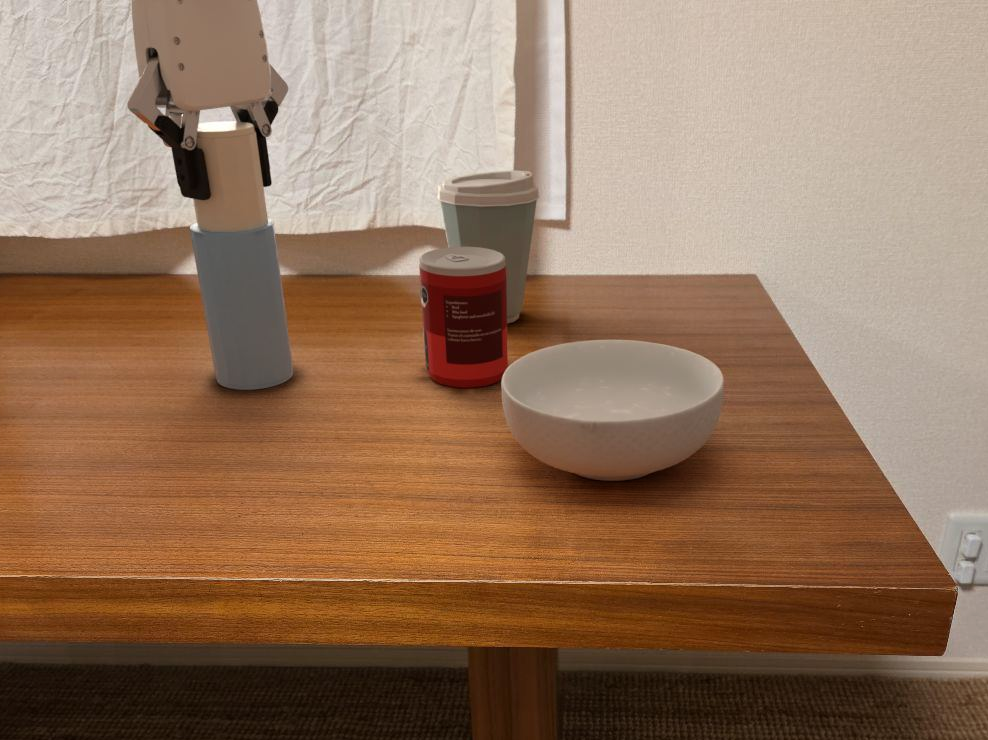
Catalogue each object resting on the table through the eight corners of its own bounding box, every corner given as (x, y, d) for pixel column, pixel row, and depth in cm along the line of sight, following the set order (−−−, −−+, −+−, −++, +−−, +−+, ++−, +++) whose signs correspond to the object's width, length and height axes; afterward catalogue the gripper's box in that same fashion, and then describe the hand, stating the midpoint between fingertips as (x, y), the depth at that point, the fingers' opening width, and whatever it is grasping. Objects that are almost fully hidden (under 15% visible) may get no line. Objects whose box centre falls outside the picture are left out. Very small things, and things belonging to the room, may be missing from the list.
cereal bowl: (569, 402, 89) (570, 325, 85) (748, 442, 82) (758, 359, 78) (460, 477, 76) (455, 389, 73) (660, 531, 69) (666, 437, 65)
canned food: (460, 354, 100) (455, 242, 94) (525, 370, 96) (523, 254, 90) (408, 377, 95) (399, 259, 89) (475, 395, 91) (470, 273, 85)
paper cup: (228, 235, 85) (212, 133, 81) (184, 226, 88) (167, 127, 84) (281, 222, 89) (268, 125, 85) (237, 214, 92) (223, 119, 88)
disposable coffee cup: (433, 331, 106) (424, 182, 99) (452, 301, 116) (446, 163, 108) (533, 334, 105) (532, 184, 98) (544, 303, 114) (544, 165, 107)
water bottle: (250, 395, 91) (217, 188, 82) (201, 379, 94) (164, 178, 85) (308, 373, 96) (283, 174, 87) (259, 358, 99) (230, 166, 90)
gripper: (245, -52, 86) (275, 171, 95) (59, -52, 74) (113, 204, 83) (306, -53, 82) (331, 180, 91) (120, -53, 70) (170, 215, 79)
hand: (227, 189), depth 87 cm, fingers closed on paper cup, 5 cm apart
